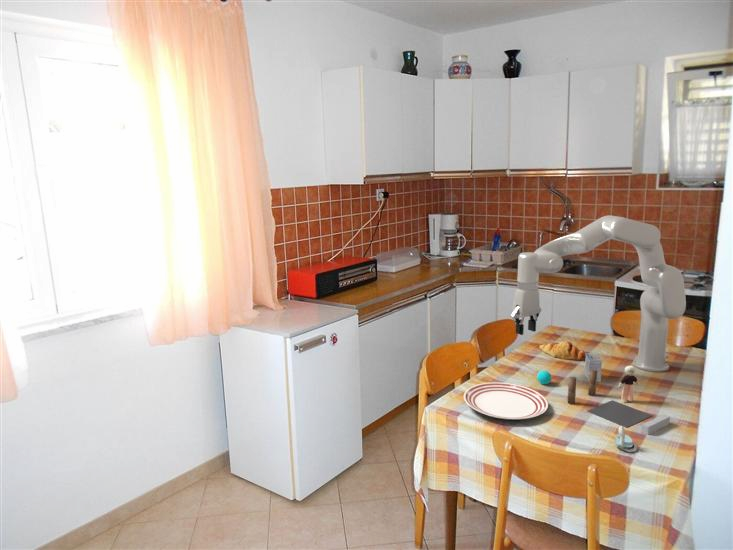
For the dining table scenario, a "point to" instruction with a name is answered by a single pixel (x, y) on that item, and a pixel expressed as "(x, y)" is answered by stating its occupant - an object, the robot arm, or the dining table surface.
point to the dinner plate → (505, 400)
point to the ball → (544, 377)
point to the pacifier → (624, 441)
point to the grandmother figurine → (628, 385)
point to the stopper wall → (655, 424)
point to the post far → (571, 390)
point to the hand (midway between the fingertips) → (525, 331)
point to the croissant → (563, 350)
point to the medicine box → (593, 365)
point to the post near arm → (592, 382)
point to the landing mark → (619, 413)
